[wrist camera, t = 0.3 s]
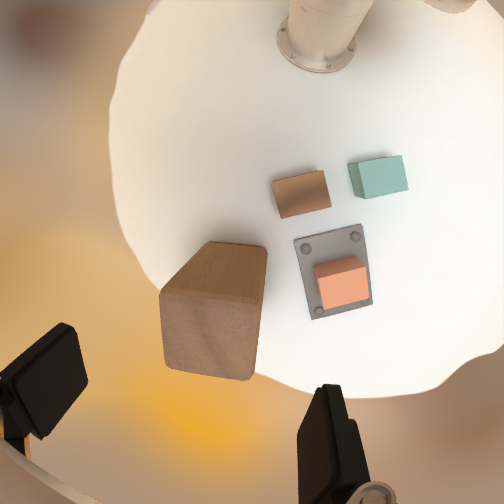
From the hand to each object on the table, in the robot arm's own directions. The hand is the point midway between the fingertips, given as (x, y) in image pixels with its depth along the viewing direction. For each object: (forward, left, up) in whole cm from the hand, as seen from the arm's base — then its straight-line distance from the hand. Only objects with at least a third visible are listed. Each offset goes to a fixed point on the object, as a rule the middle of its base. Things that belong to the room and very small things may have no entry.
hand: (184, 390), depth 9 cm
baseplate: (+11, +11, -35) cm, 38 cm away
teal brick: (-3, +20, -35) cm, 40 cm away
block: (+7, -5, -35) cm, 36 cm away
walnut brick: (-3, +8, -35) cm, 36 cm away
